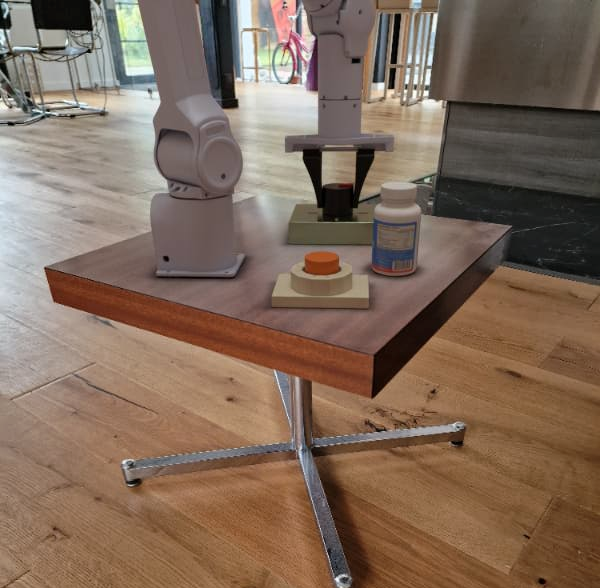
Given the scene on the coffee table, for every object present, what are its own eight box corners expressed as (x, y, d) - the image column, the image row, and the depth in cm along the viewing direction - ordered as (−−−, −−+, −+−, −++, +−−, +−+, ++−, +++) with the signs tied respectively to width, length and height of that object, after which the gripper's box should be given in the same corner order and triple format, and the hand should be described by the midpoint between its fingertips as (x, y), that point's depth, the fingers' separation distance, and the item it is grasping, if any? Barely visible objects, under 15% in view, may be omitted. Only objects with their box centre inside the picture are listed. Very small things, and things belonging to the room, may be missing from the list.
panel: (289, 244, 79) (288, 220, 77) (296, 223, 88) (295, 202, 86) (383, 244, 78) (385, 221, 76) (380, 224, 87) (381, 203, 85)
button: (303, 277, 59) (303, 261, 58) (306, 266, 62) (305, 251, 61) (338, 278, 59) (338, 261, 58) (339, 267, 62) (339, 251, 61)
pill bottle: (382, 260, 72) (387, 178, 67) (422, 266, 69) (431, 182, 64) (363, 272, 68) (367, 187, 63) (405, 280, 65) (413, 191, 60)
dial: (321, 215, 80) (321, 186, 78) (323, 208, 83) (323, 180, 81) (353, 216, 79) (354, 186, 77) (353, 208, 83) (354, 180, 81)
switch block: (271, 307, 59) (270, 279, 57) (279, 283, 65) (278, 258, 63) (368, 308, 58) (370, 280, 57) (367, 285, 64) (368, 258, 63)
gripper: (394, 96, 77) (388, 200, 84) (287, 97, 78) (290, 200, 85) (397, 99, 71) (390, 211, 78) (281, 101, 72) (285, 211, 79)
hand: (337, 206), depth 81 cm, fingers closed on dial, 4 cm apart
